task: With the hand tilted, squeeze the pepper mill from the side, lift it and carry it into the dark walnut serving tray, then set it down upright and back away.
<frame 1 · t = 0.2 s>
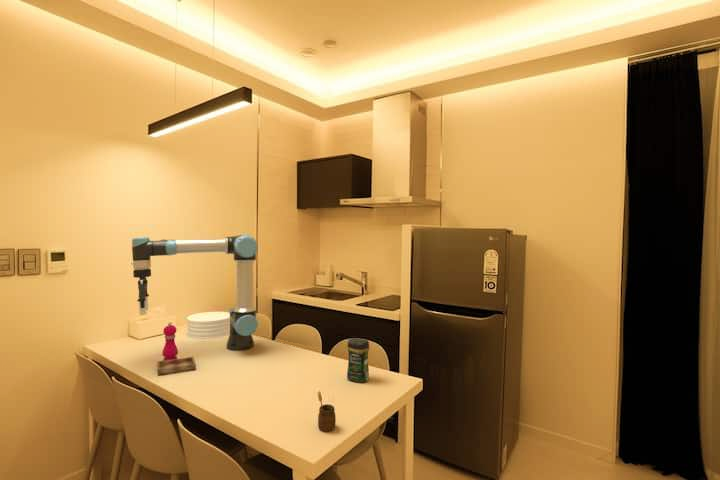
hand: (144, 312, 188), 27 cm above the table, tool pointing down, fingers open, 13 cm apart
coffee jar: (358, 380, 175), on the table
plate stack: (210, 333, 252), on the table
tray: (176, 368, 187), on the table
pepper mill: (170, 361, 199), on the table
utensil holder: (326, 428, 132), on the table
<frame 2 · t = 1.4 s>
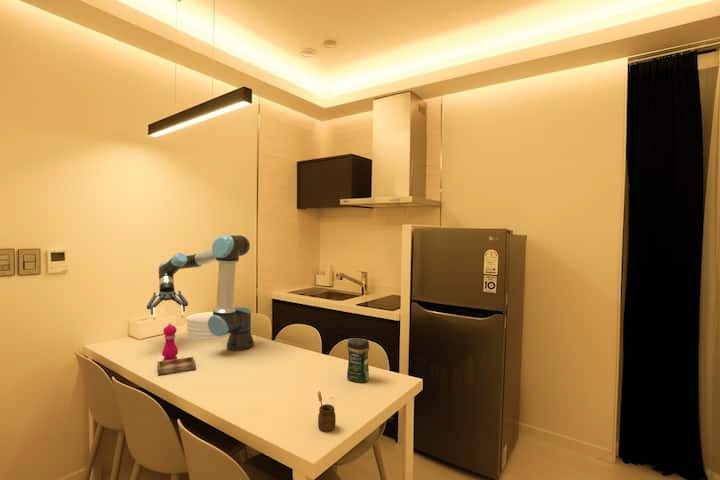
hand: (168, 317, 207), 20 cm above the table, tool tilted 45°, fingers open, 13 cm apart
nothing on the table moved.
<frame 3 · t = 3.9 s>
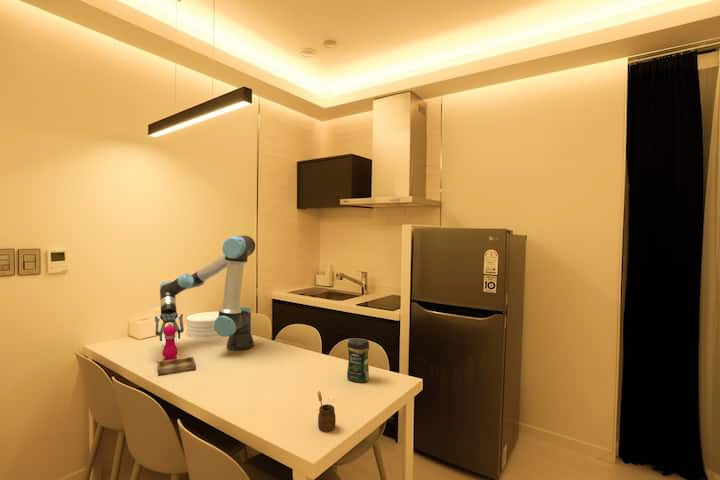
hand: (170, 344, 195), 9 cm above the table, tool tilted 45°, fingers closed on pepper mill, 6 cm apart
pepper mill: (170, 361, 199), on the table, touching gripper
everything else where it was.
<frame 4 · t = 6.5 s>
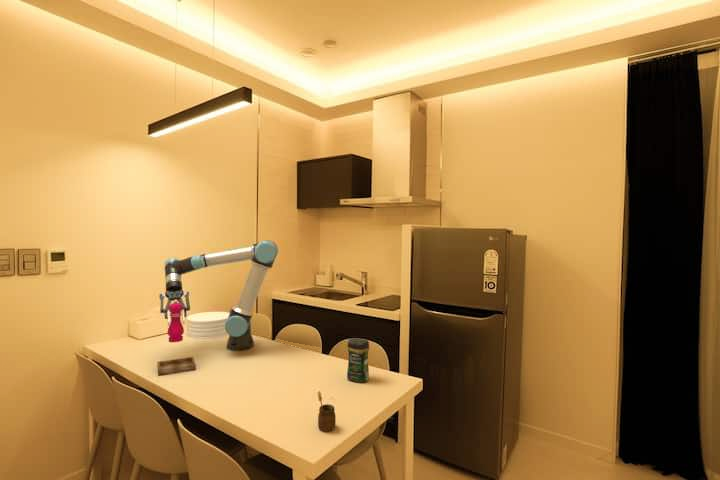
hand: (176, 323, 184), 23 cm above the table, tool tilted 45°, fingers closed on pepper mill, 6 cm apart
pepper mill: (175, 341, 187), point 14 cm above the table, touching gripper
everything else where it was.
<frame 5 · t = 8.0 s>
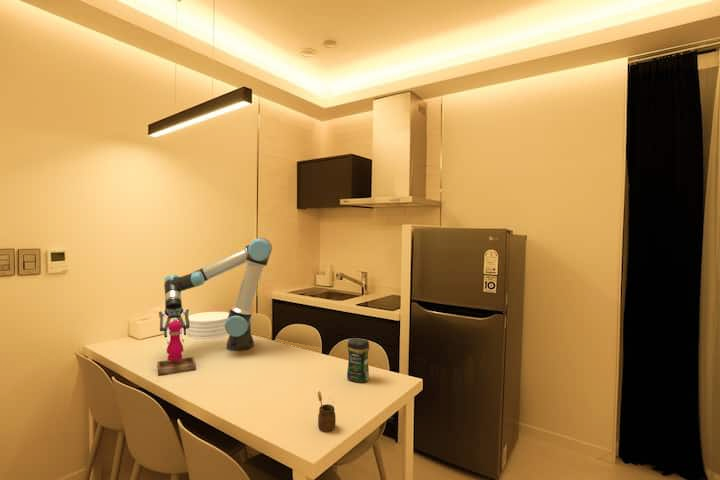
hand: (175, 341, 184), 14 cm above the table, tool tilted 45°, fingers closed on pepper mill, 6 cm apart
pepper mill: (174, 359, 187), point 5 cm above the table, touching gripper
everything else where it was.
when the fingers open (12 cm above the table, at t = 8.9 s): pepper mill drops 1 cm, resting on tray.
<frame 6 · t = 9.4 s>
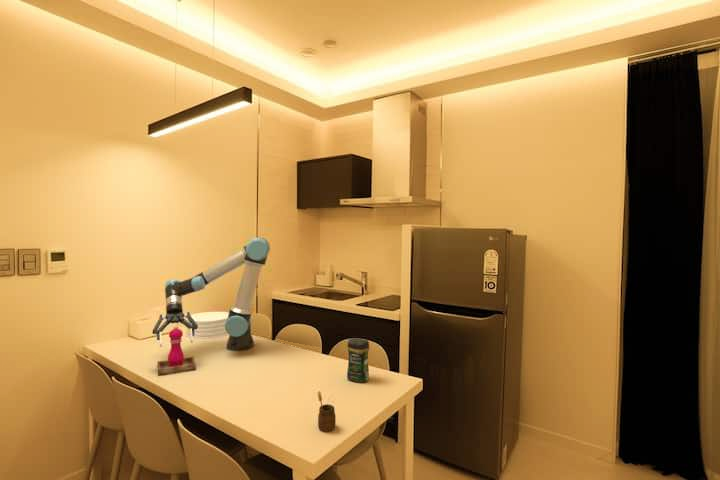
hand: (176, 343, 185), 13 cm above the table, tool tilted 45°, fingers open, 13 cm apart
pepper mill: (175, 367, 187), point 1 cm above the table, touching tray
everything else where it was.
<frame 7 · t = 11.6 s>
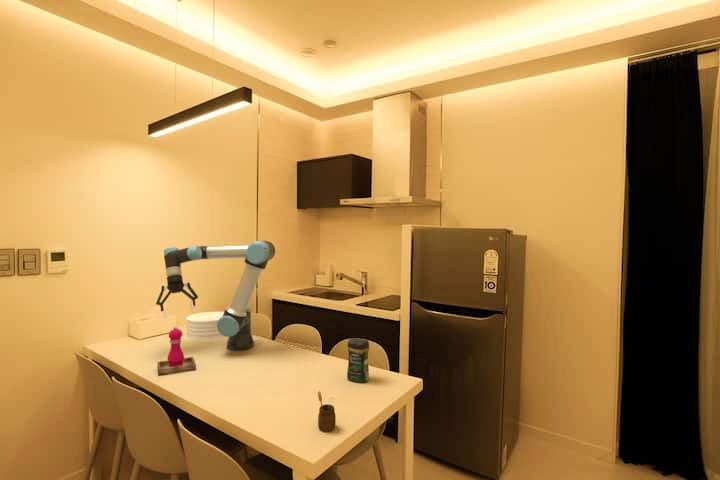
hand: (179, 314, 204), 23 cm above the table, tool tilted 20°, fingers open, 13 cm apart
nothing on the table moved.
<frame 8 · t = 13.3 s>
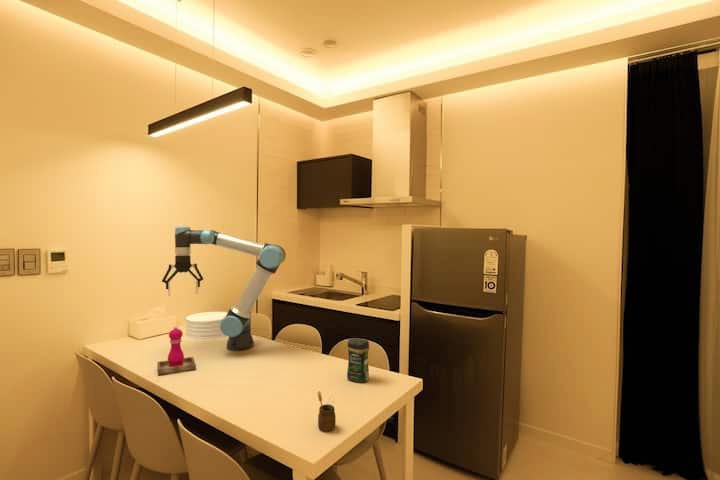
hand: (183, 294, 208), 33 cm above the table, tool pointing down, fingers open, 13 cm apart
nothing on the table moved.
at the end: pepper mill inside the target area on the tray (0.2 cm from its centre), point 0.8 cm above the tray's base; pepper mill tilted 0°; the gripper is holding nothing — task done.
